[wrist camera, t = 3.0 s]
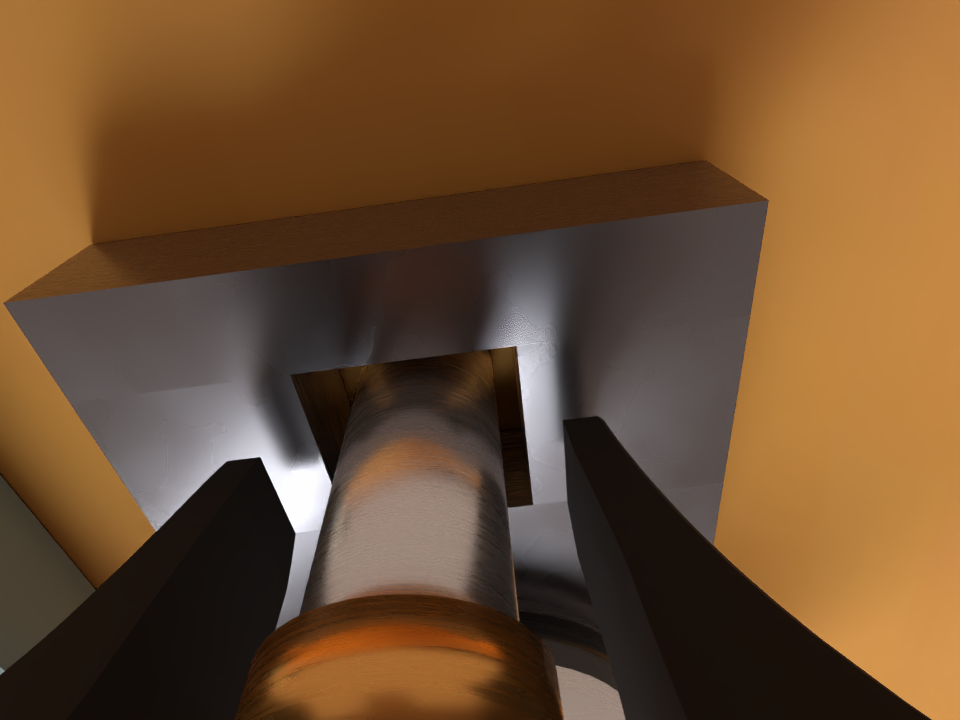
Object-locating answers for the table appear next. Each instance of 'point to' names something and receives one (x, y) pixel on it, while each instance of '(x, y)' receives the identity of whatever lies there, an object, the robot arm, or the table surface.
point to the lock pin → (411, 568)
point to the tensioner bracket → (425, 354)
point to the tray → (32, 580)
